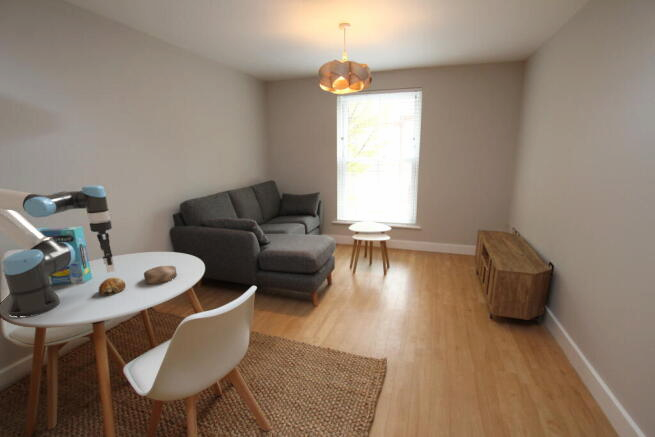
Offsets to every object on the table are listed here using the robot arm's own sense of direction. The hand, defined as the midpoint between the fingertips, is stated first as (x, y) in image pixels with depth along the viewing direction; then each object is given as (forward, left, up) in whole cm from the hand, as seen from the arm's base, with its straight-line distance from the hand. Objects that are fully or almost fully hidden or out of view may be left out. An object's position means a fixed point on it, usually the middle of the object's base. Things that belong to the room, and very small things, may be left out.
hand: (109, 267), depth 137 cm
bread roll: (0, 0, -12) cm, 12 cm away
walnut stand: (+20, 0, -11) cm, 23 cm away
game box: (-16, +28, -12) cm, 35 cm away
